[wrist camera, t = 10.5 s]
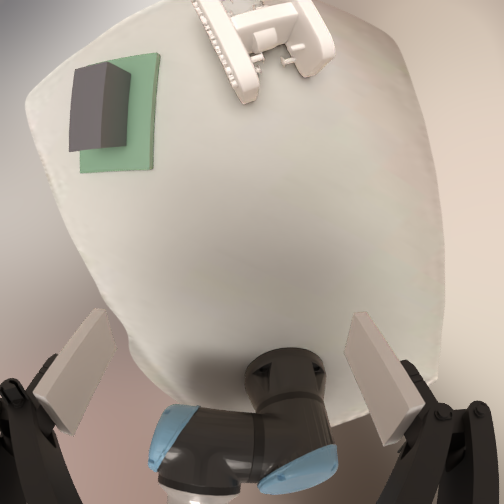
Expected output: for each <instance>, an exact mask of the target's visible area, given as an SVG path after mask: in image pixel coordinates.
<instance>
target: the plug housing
mask: <svg viewBox="0 0 504 504" xmlns="http://www.w3.org/2000/svg"><path fill="white" fill-rule="evenodd" d="M130 80H131V73H129V72H127V71H125V70H123V69H121V68H119V67H118V66H116V65H114V64H112V63H110V62H108V61H106V62H102V63H98V64H94V65H90V66H86V67H82V68H79V69H75V73H74V80H73V88H72V98H71V110H70V128H69V152H74V151H82V150H90V149H100V148H110V147H121V146H126V141H127V117H128V102H129V90H130Z"/></svg>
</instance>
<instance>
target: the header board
mask: <svg viewBox="0 0 504 504" xmlns="http://www.w3.org/2000/svg"><path fill="white" fill-rule="evenodd" d="M105 62H106V61H105ZM108 62H110V63H112V64H114V65H116V66H118V67H119V68H121V69H123V70H125V71H127V72H129V73H131V80H130V90H129V102H128V117H127V141H126V146H121V147H110V148H100V149H90V150H82V151H80V173H91V172H105V171H124V170H150V169H153V143H154V120H155V104H156V92H157V81H158V71H159V63H160V55H159V54H158V53H150V54H142V55H136V56H130V57H124V58H119V59H114V60H109V61H108ZM100 63H102V62H100ZM96 64H98V63H96ZM92 65H94V64H92ZM88 66H90V65H88Z"/></svg>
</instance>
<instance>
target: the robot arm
mask: <svg viewBox="0 0 504 504" xmlns="http://www.w3.org/2000/svg"><path fill="white" fill-rule="evenodd" d="M116 350H117V347H116V344H115V340H114V337H113V334H112V330H111V327H110V324H109V320H108V316H107V313H106V310H105V309H97V308H94V309H93V310H92V312H91V313H90V314H89V315H88V317H87V318H86V319H85V320H84V322H83V323H82V324H81V325H80V327H79V328H78V329H77V331H76V332H75V333H74V334H73V336H72V337H71V338H70V340H69V341H68V342H67V344H66V345H65V346H64V348H63V349H62V350H61V352H60V353H59V354H54V355H53V356H51V357H50V358H48V360H47V361H46V362H45V364H44V365H43V368H41V369H40V370H39V373H37V375H36V376H35V377H34V379H33V380H32V382H31V383H30V385H29V386H28V388H27V389H26V391H25V390H24V388H23V386H22V385H21V383H20V382H19V381H18V380H17V379H14V378H10V379H7V380H5V381H4V382H3V383H1V385H0V395H1V396H2V398H0V432H1V434H0V504H83V503H82V501H81V499H80V497H79V495H78V493H77V490H76V488H75V486H74V484H73V481H72V479H71V476H70V474H69V471H68V469H67V466H66V464H65V461H64V458H63V455H62V452H61V449H60V447H59V443H58V440H57V437H56V434H55V432H54V430H53V428H54V426H55V425H56V426H57V428H58V429H59V430H60V431H61V432H63V433H65V434H68V435H71V436H74V435H75V432H76V430H77V428H78V426H79V424H80V422H81V419H82V417H83V415H84V413H85V411H86V409H87V407H88V404H89V402H90V400H91V398H92V396H93V394H94V392H95V390H96V388H97V386H98V384H99V382H100V380H101V378H102V376H103V374H104V373H105V371H106V369H107V367H108V365H109V363H110V361H111V359H112V357H113V356H114V354H115V352H116ZM344 354H345V356H346V358H347V361H348V363H349V365H350V367H351V370H352V372H353V374H354V377H355V379H356V381H357V383H358V386H359V388H360V390H361V393H362V395H363V397H364V400H365V402H366V405H367V407H368V409H369V412H370V414H371V416H372V419H373V421H374V424H375V426H376V429H377V431H378V434H379V436H380V439H381V441H382V444H383V446H386V445H389V444H393V443H396V442H399V440H400V439H401V438H402V436H403V435H404V436H405V438H406V442H405V443H404V444H403V445H402V447H401V448H400V449H399V450H398V453H400V451H401V453H400V455H399V457H398V460H397V462H396V465H395V467H394V469H393V471H392V473H391V475H390V477H389V479H388V482H387V484H386V486H385V488H384V490H383V491H382V493H381V495H380V497H379V499H378V501H377V503H376V504H432V501H433V499H434V496H435V493H436V491H437V488H438V485H439V489H438V499H437V504H499V473H498V459H497V449H496V440H495V434H494V427H493V421H492V416H491V411H490V409H489V407H488V406H487V404H486V403H484V402H482V401H474V402H472V403H471V404H470V405H469V407H468V408H467V409H461V410H453V409H452V408H451V407H450V406H449V405H447V404H445V403H438V401H437V400H436V398H435V397H434V395H433V393H432V392H431V390H430V389H429V387H428V386H427V384H426V382H425V381H423V378H422V376H421V375H419V372H418V370H417V369H416V367H415V366H414V365H413V364H412V363H410V362H409V361H408V360H402V361H399V359H398V358H397V356H396V355H395V353H394V352H393V350H392V349H391V347H390V346H389V344H388V343H387V341H386V340H385V338H384V337H383V335H382V334H381V332H380V331H379V329H378V328H377V326H376V325H375V323H374V322H373V320H372V319H371V317H370V316H369V314H368V313H367V312H357V313H354V314H353V319H352V323H351V327H350V331H349V335H348V339H347V343H346V346H345V350H344ZM325 383H326V372H325V368H324V365H323V362H322V361H321V359H320V358H319V357H318V356H317V355H316V354H314V353H312V352H310V351H307V350H304V349H299V348H284V349H278V350H274V351H270V352H268V353H265V354H263V355H261V356H260V357H258V358H256V359H255V360H254V361H253V362H252V363H251V364H250V365H249V366H248V368H247V370H246V372H245V389H246V392H247V395H248V397H249V399H250V401H251V403H252V405H253V407H254V409H255V412H256V413H247V412H235V411H226V410H217V409H210V408H202V407H201V406H199V405H197V406H189V405H181V404H173V405H170V406H169V407H167V408H166V409H165V410H164V412H163V413H162V415H161V417H160V419H159V421H158V424H157V426H156V429H155V432H154V435H153V438H152V442H151V445H150V450H149V460H148V466H149V468H150V469H151V470H153V471H154V472H159V476H158V484H159V485H160V486H161V487H162V488H163V490H164V491H165V492H166V493H167V495H168V496H167V504H228V503H229V501H231V500H232V499H233V498H235V497H237V496H238V495H239V494H240V486H241V483H258V484H257V487H258V488H259V490H260V492H262V493H264V494H271V495H274V494H275V495H276V494H286V493H292V492H297V491H300V490H304V489H307V488H310V487H313V486H315V485H318V484H320V483H322V482H324V481H325V480H327V479H328V478H330V477H331V476H332V475H333V474H334V473H335V472H336V470H337V468H338V458H337V450H336V449H337V446H336V445H335V442H334V439H333V435H332V431H331V427H330V423H329V420H328V416H327V412H326V409H325V405H324V401H323V399H324V391H325Z"/></svg>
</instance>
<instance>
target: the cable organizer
mask: <svg viewBox="0 0 504 504" xmlns="http://www.w3.org/2000/svg"><path fill="white" fill-rule="evenodd" d="M222 1H225V0H191V2H192V4H193V6H194V8H195V10H196V12H197V14H198V15H199V18H200V19H201V21H202V24H203V26H204V27H205V29H206V32H207V33H208V36H209V39H210V41H211V43H212V45H213V47H214V49H215V51H216V53H217V54H218V56H219V58H220V61H221V62H222V65H223V68H224V71H225V73H226V75H227V77H228V79H229V81H230V84H231V86H232V88H234V90H235V92H236V94H237V96H238V98H239V99H240V101H241V102H242V103H243V104H247V103H249V102H252V101H255V100H256V99H257V95H258V91H259V87H260V83H259V78H258V75H257V73H260V74H261V73H262V71H261V69H260V66H258V65H257V67H258V68H255V67H254V64H253V63H254V62H257V61H260V60H263V63H264V60H265V58H264V56H263V53H262V52H263V51H266V50H269V49H272V48H275V47H276V46H277V45H280V44H284V43H285V45H286V47H287V51H289V53H290V55H291V57H292V58H288V59H284V57H283V58H282V57H281V56H280V57H281V63H282V64H283V66H284V68H285V65H286V64H290V63H293V62H294V63H295V65H296V67H297V69H298V71H299V72H300V74H301V75H302V76H303V77H305V78H306V77H310V76H314V75H316V74H317V73H318V72H319V71H320V70H321V69H322V68H323V67H325V66H326V65H327V64H328V63H329V62H330V61H331V60H332V59H333V58H334V57H335V45H334V42H333V39H332V36H331V34H330V32H329V30H328V28H327V27H326V25H325V23H324V21H323V19H322V18H321V16H320V14H319V12H318V11H317V9H316V7H315V6H314V4H313V2H312V1H311V0H262V1H263V4H264V6H261V7H257V8H255V5H254V6H253V5H252V7H253V11H249V12H245V13H242V14H239V15H235V16H234V15H233V13H232V11H231V12H230V13H227V11H226V9H225V8H224V6H223V4H222ZM230 1H232V0H230ZM260 2H261V0H260ZM232 3H233V1H232ZM253 52H254V53H255V54H258V53H260V54H259V55H255V56H252V57H250V56H249V54H250V53H253Z"/></svg>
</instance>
